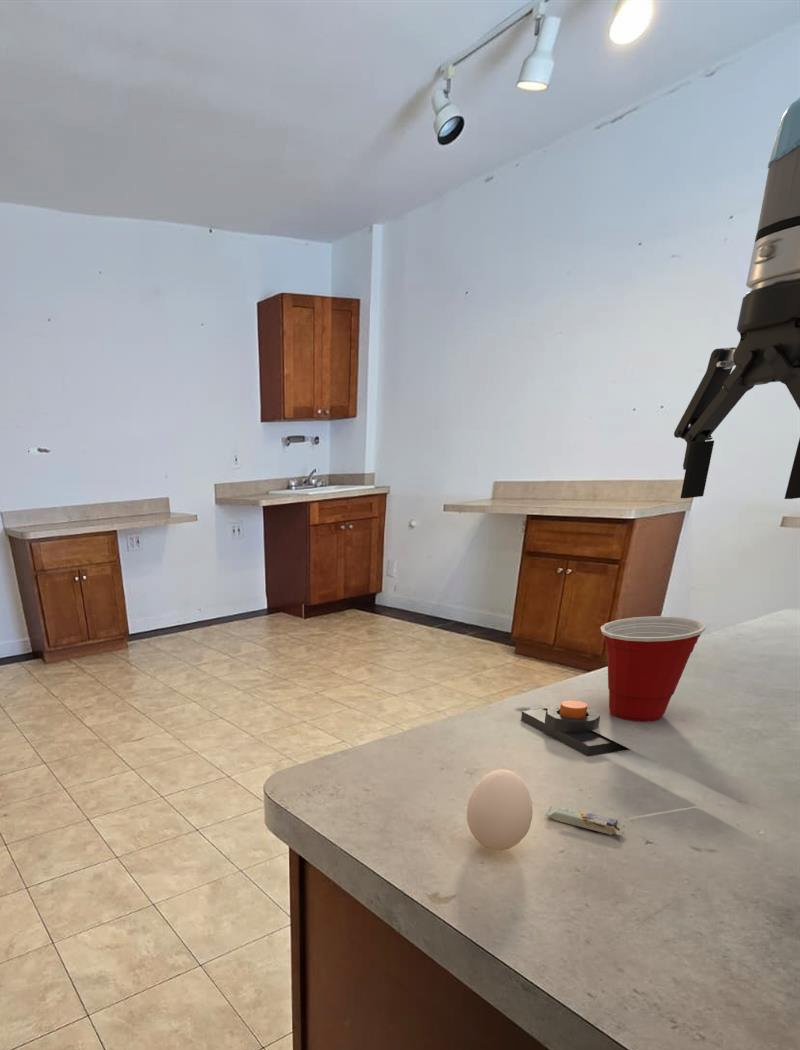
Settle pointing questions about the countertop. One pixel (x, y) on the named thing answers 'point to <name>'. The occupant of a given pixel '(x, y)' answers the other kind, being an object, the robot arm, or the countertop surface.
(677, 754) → the countertop surface
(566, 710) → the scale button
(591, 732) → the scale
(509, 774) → the egg
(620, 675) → the plastic cup
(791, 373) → the robot arm
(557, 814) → the granola bar
